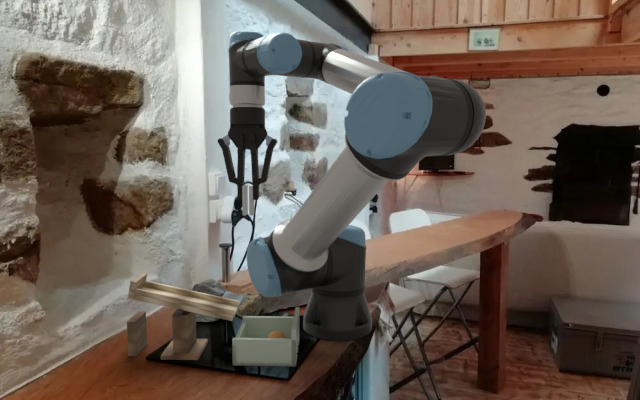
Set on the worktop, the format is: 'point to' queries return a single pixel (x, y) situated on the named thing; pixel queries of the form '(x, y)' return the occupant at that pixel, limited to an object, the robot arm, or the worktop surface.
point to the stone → (213, 289)
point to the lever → (185, 299)
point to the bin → (267, 341)
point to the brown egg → (276, 334)
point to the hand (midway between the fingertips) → (248, 214)
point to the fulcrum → (179, 347)
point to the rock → (250, 305)
